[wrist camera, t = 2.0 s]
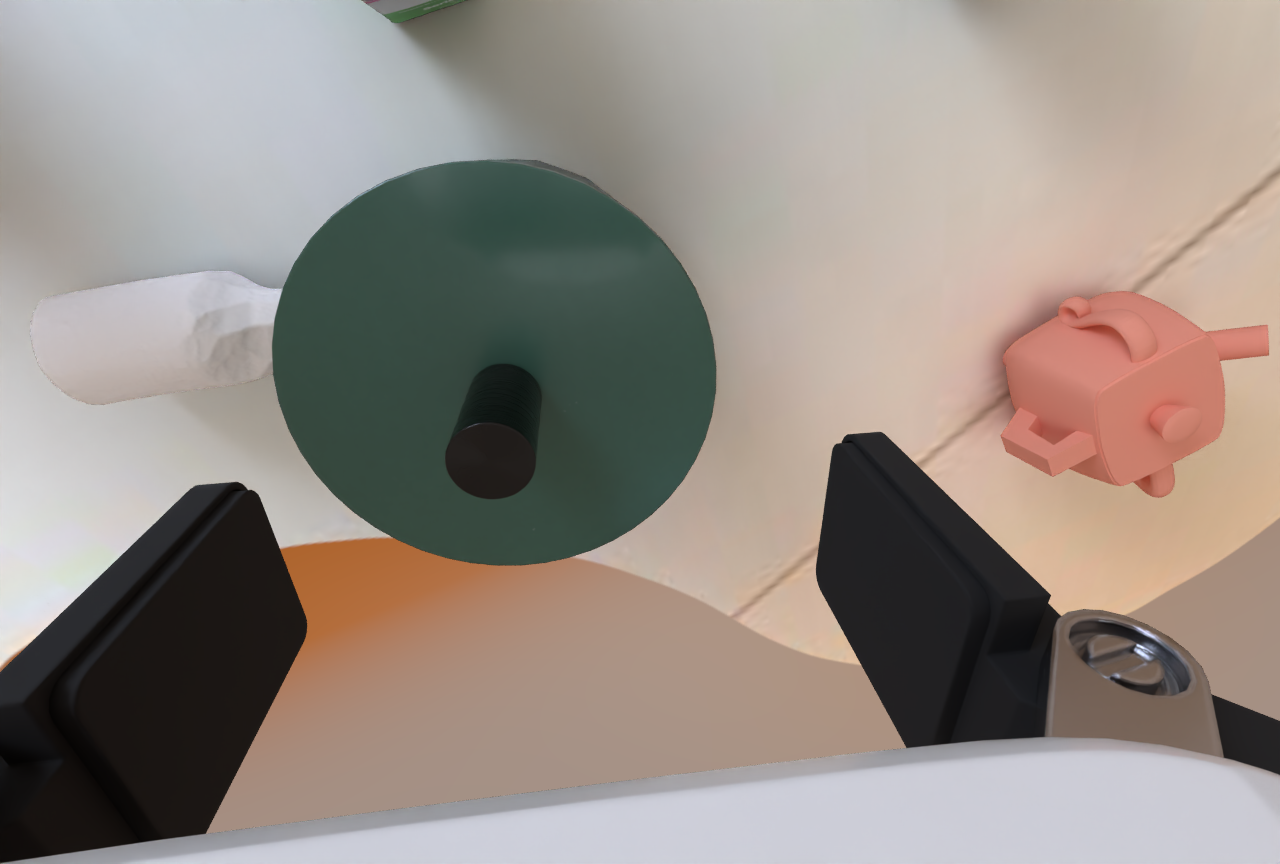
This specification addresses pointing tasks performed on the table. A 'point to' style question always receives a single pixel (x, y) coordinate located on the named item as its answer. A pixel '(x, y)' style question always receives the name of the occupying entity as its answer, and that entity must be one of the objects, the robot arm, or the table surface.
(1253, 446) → the table surface
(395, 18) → the ink box
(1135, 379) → the teapot
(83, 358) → the roll
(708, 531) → the table surface
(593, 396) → the bin lid
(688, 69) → the table surface
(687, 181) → the table surface
